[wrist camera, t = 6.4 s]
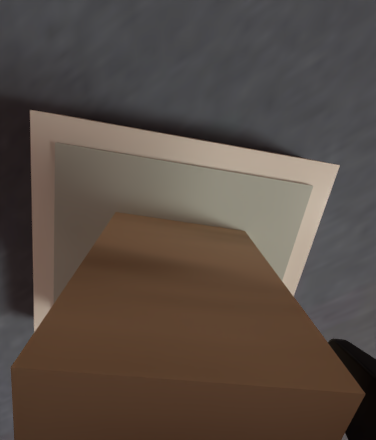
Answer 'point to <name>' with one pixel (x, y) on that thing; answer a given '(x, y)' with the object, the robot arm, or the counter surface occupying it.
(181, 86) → the counter surface
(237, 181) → the tile base
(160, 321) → the oak block
